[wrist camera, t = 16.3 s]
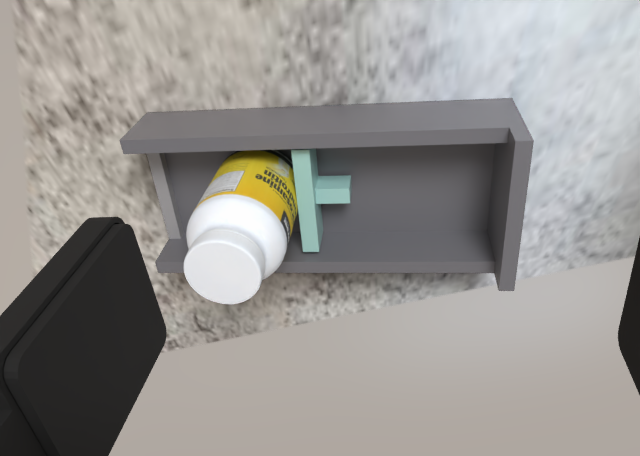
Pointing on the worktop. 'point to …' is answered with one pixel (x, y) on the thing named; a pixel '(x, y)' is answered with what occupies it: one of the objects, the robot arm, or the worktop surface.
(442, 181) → the tray
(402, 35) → the worktop surface
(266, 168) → the pill bottle
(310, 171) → the pusher paddle
